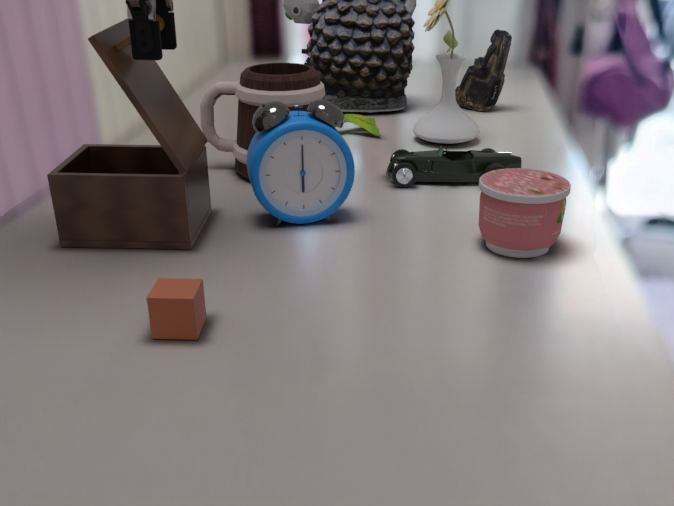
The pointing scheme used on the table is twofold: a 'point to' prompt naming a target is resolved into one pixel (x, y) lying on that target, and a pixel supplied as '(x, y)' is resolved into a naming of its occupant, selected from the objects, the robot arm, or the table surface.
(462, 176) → the toy car
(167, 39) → the robot arm
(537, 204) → the container
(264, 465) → the table surface
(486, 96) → the statue
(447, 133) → the flower in vase
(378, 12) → the pine cone sculpture
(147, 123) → the lid
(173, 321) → the block
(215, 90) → the mug
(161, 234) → the chest
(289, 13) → the robot
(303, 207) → the alarm clock
